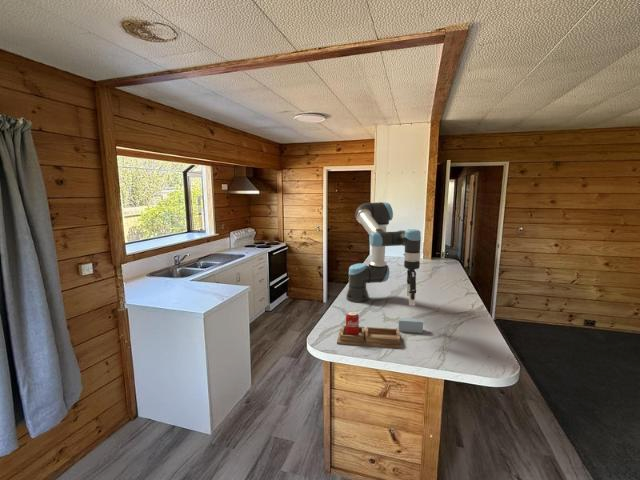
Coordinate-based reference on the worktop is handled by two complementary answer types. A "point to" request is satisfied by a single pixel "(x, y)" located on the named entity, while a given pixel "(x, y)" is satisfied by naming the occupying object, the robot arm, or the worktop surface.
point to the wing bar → (410, 325)
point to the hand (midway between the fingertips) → (410, 300)
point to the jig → (371, 337)
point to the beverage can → (352, 323)
